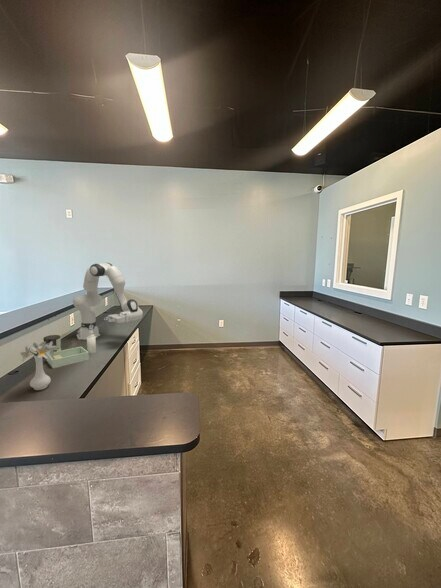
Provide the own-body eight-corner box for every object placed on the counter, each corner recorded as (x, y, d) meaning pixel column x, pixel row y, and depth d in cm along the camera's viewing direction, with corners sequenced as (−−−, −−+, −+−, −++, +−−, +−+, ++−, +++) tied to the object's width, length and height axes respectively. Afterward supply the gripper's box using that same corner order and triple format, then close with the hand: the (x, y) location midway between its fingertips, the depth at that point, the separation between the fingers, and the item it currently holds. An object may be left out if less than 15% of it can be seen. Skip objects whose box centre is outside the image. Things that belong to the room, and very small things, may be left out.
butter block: (53, 361, 169) (53, 356, 168) (60, 360, 172) (59, 354, 171) (56, 365, 164) (55, 359, 164) (63, 363, 167) (62, 357, 166)
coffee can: (49, 359, 174) (48, 340, 172) (41, 356, 179) (40, 337, 177) (64, 354, 183) (63, 336, 181) (56, 352, 188) (55, 334, 186)
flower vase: (61, 378, 147) (59, 337, 144) (44, 395, 129) (41, 349, 126) (37, 379, 145) (34, 338, 142) (16, 396, 127) (12, 349, 124)
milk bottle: (86, 351, 191) (85, 328, 188) (94, 349, 195) (93, 326, 192) (88, 353, 186) (87, 329, 184) (97, 351, 191) (96, 328, 188)
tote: (47, 362, 170) (46, 353, 169) (81, 354, 185) (81, 346, 185) (52, 369, 159) (52, 360, 158) (88, 360, 175) (88, 352, 174)
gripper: (118, 311, 212) (101, 314, 203) (128, 314, 198) (110, 317, 188) (118, 318, 213) (101, 321, 204) (129, 322, 199) (111, 326, 189)
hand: (106, 319), depth 196 cm, fingers open, 8 cm apart
